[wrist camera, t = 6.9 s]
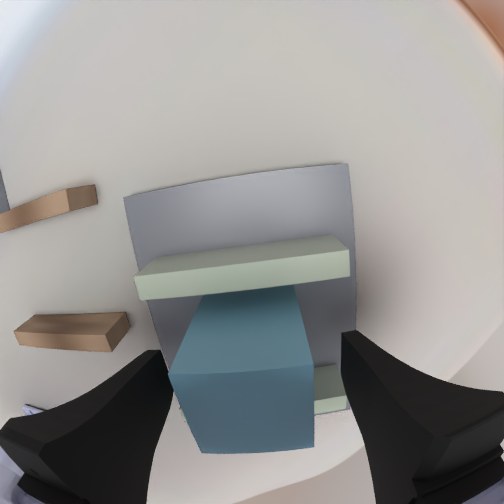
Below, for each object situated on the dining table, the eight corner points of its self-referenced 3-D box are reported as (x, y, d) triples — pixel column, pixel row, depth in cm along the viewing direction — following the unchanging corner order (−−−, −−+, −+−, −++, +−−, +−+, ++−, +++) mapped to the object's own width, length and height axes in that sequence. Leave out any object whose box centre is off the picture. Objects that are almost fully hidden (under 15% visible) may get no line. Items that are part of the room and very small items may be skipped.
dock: (193, 414, 16) (183, 452, 13) (130, 195, 13) (94, 204, 10) (347, 400, 16) (359, 438, 13) (343, 163, 12) (368, 161, 9)
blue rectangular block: (220, 361, 14) (201, 453, 8) (205, 291, 13) (167, 374, 7) (298, 353, 14) (314, 447, 8) (292, 281, 13) (313, 364, 7)
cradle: (39, 327, 15) (19, 345, 13) (6, 215, 13) (-20, 222, 11) (130, 327, 15) (111, 351, 12) (94, 184, 13) (65, 188, 10)
